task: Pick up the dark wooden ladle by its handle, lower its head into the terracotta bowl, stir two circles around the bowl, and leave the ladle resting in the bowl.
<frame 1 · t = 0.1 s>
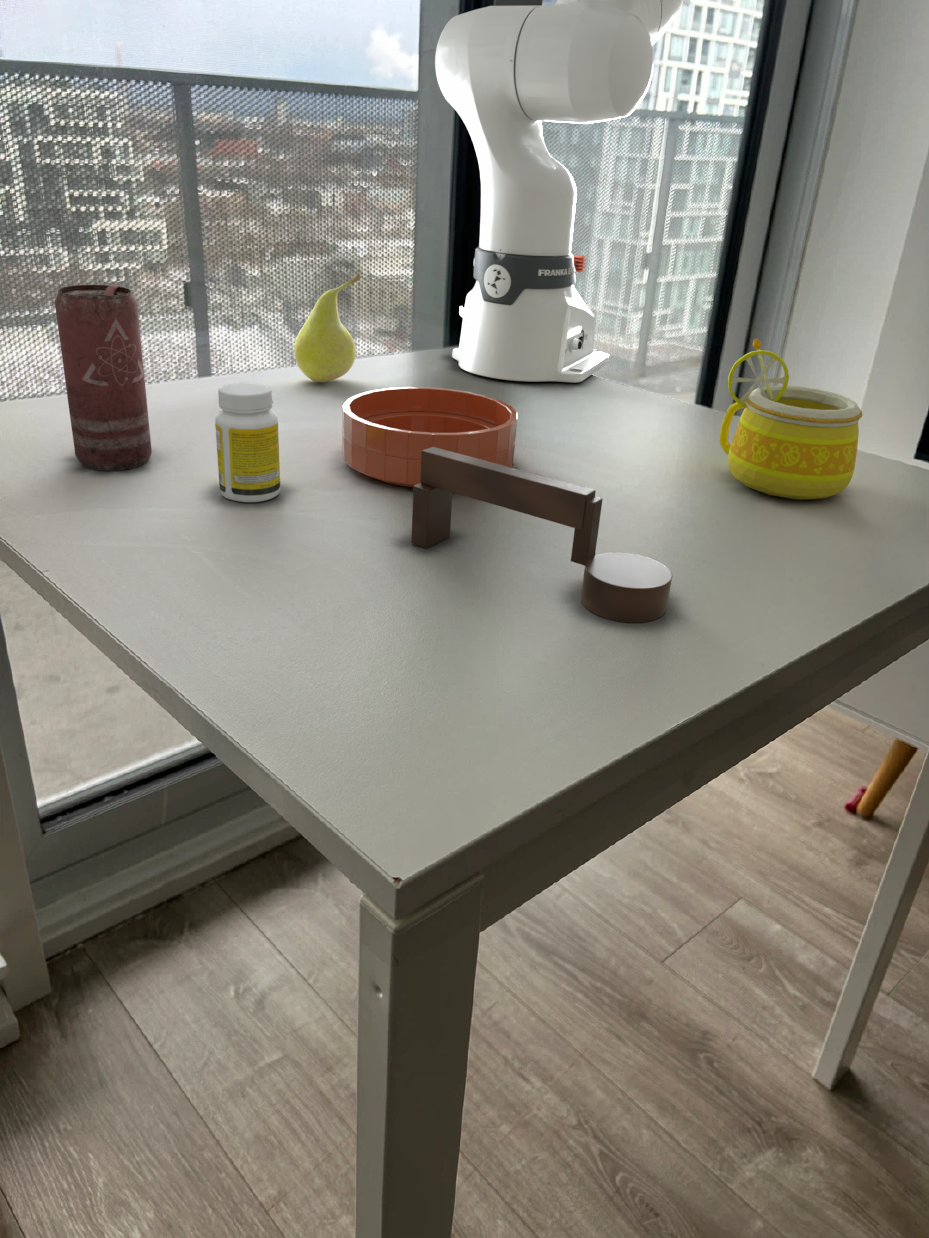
supplement bottle: (250, 495, 75), on the table
bowl: (428, 463, 84), on the table
mug: (774, 484, 86), on the table
fruit: (327, 382, 109), on the table
ladle: (623, 602, 62), on the table
can: (115, 462, 80), on the table
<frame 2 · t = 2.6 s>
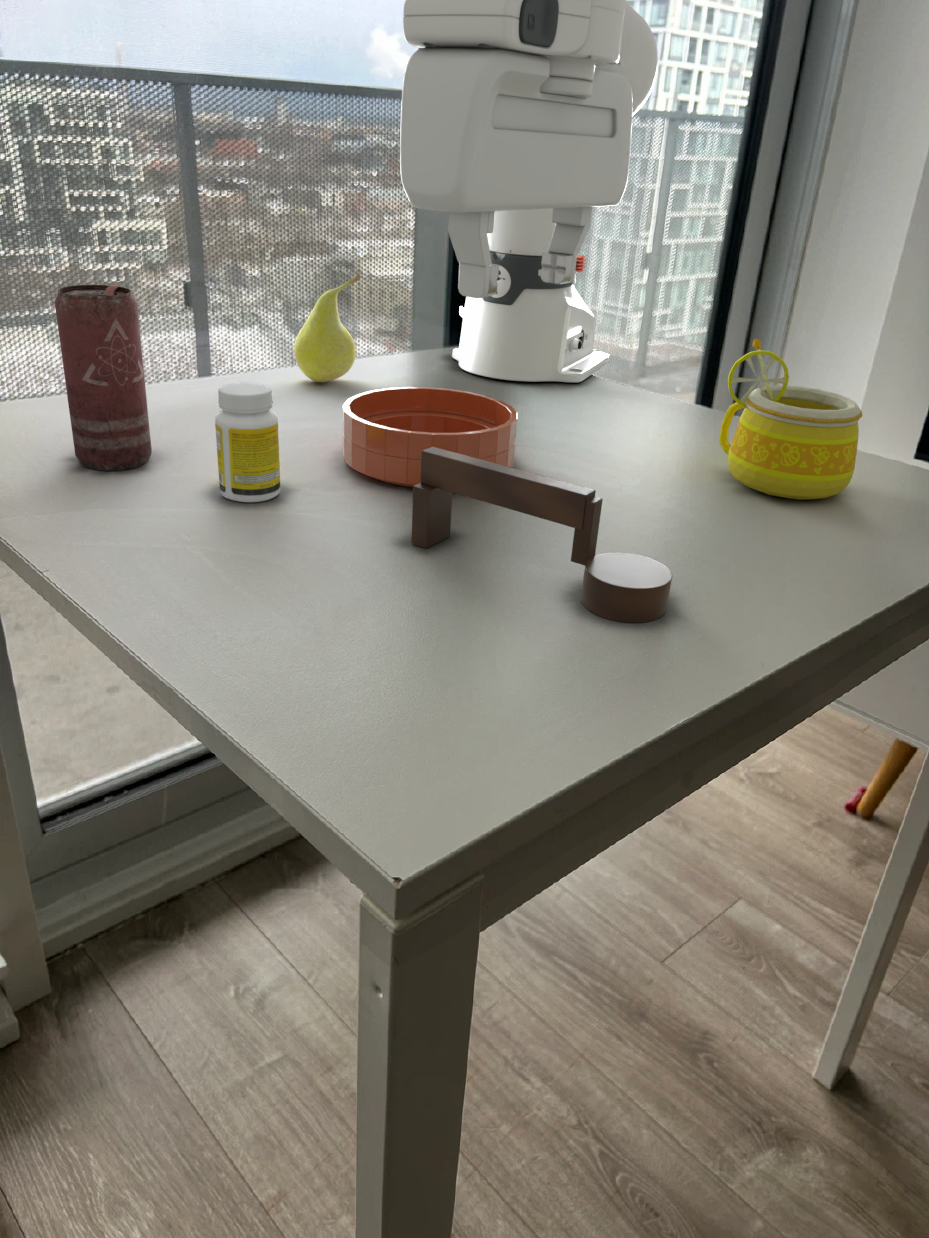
hand: (519, 289, 58), 18 cm above the table, tool pointing down, fingers open, 8 cm apart
nothing on the table moved.
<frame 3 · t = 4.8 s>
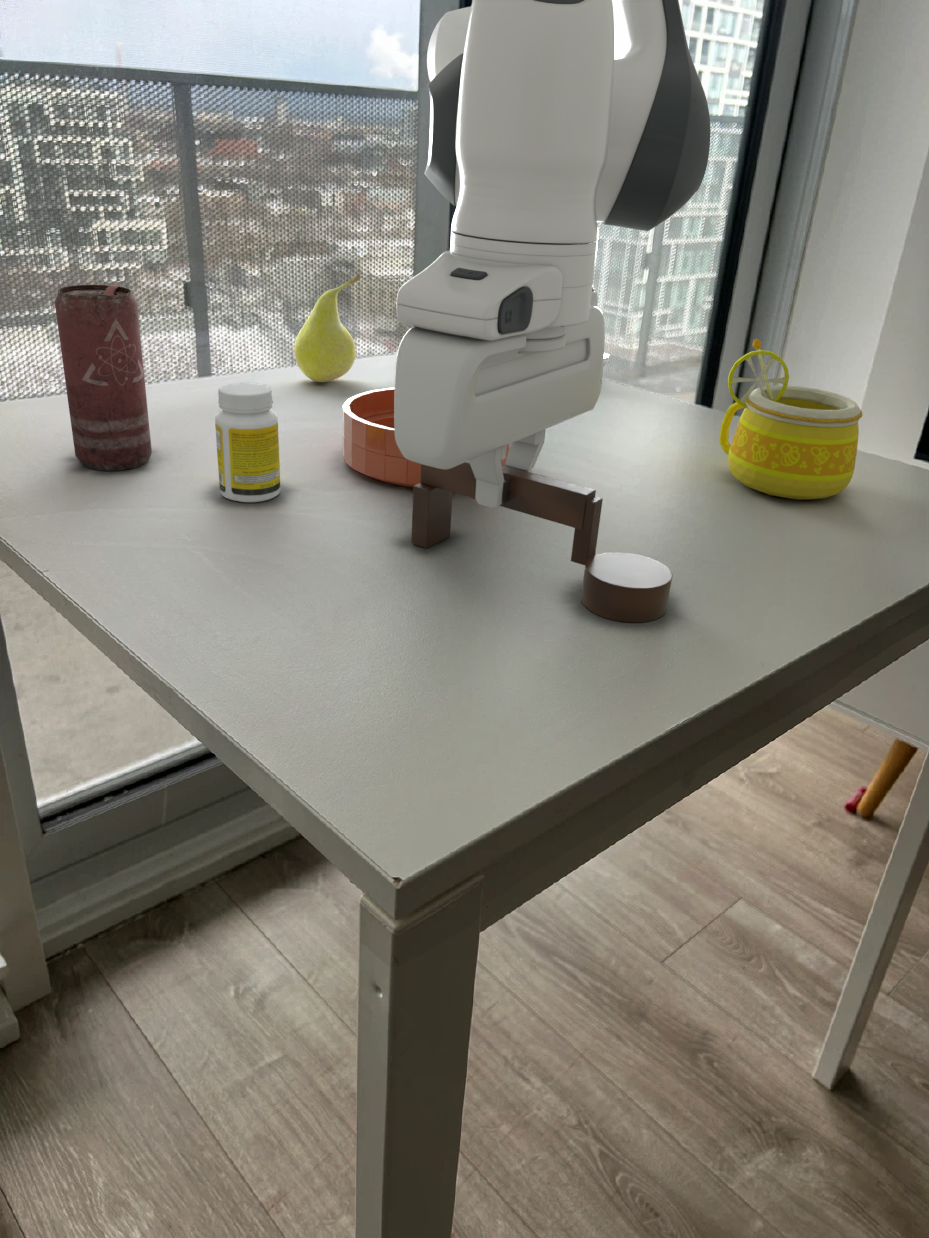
hand: (502, 498, 64), 5 cm above the table, tool pointing down, fingers closed on ladle
ladle: (623, 602, 62), on the table, touching gripper
everything else where it was.
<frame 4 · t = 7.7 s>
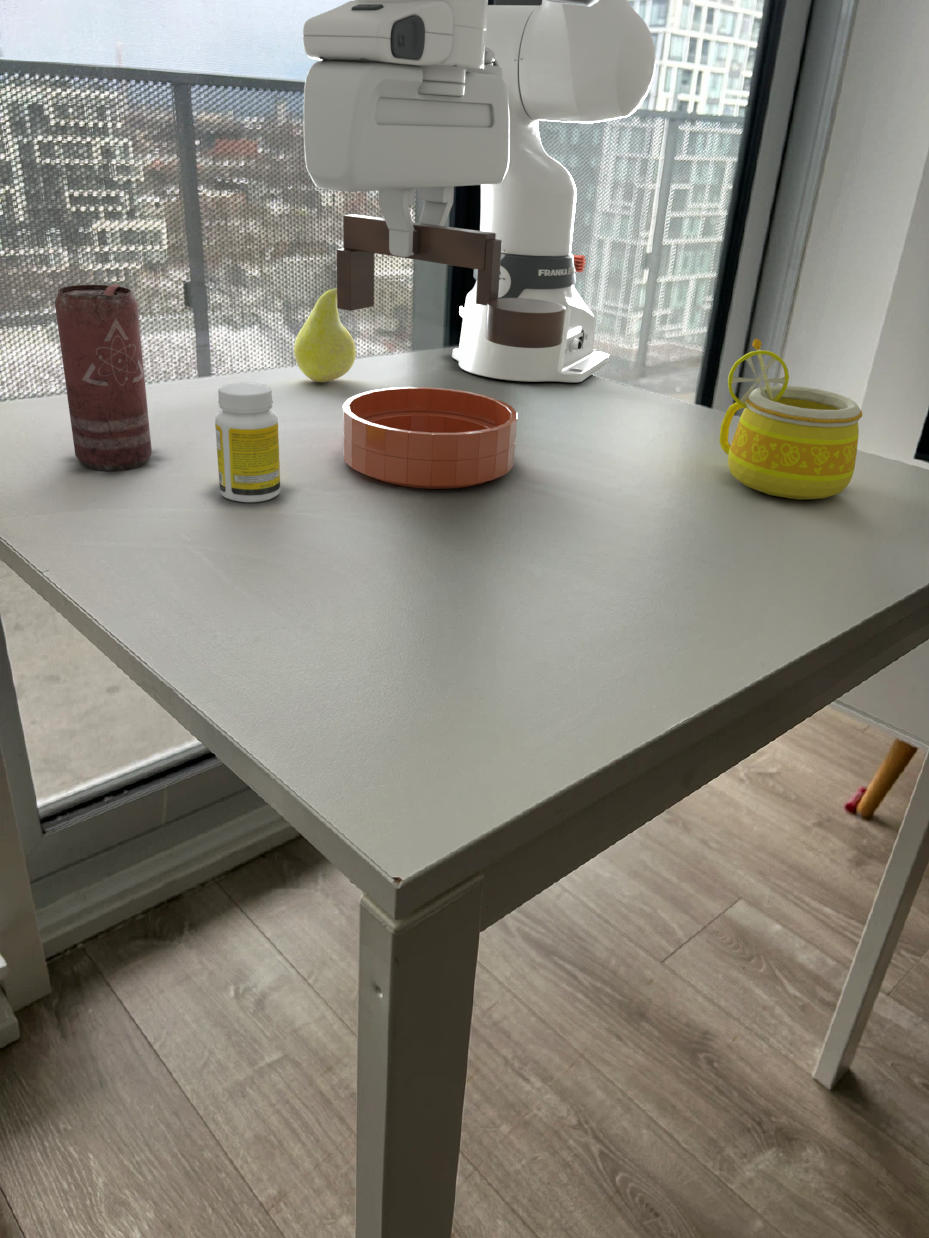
hand: (415, 254, 70), 18 cm above the table, tool pointing down, fingers closed on ladle
ladle: (523, 339, 68), point 14 cm above the table, touching gripper
everything else where it was.
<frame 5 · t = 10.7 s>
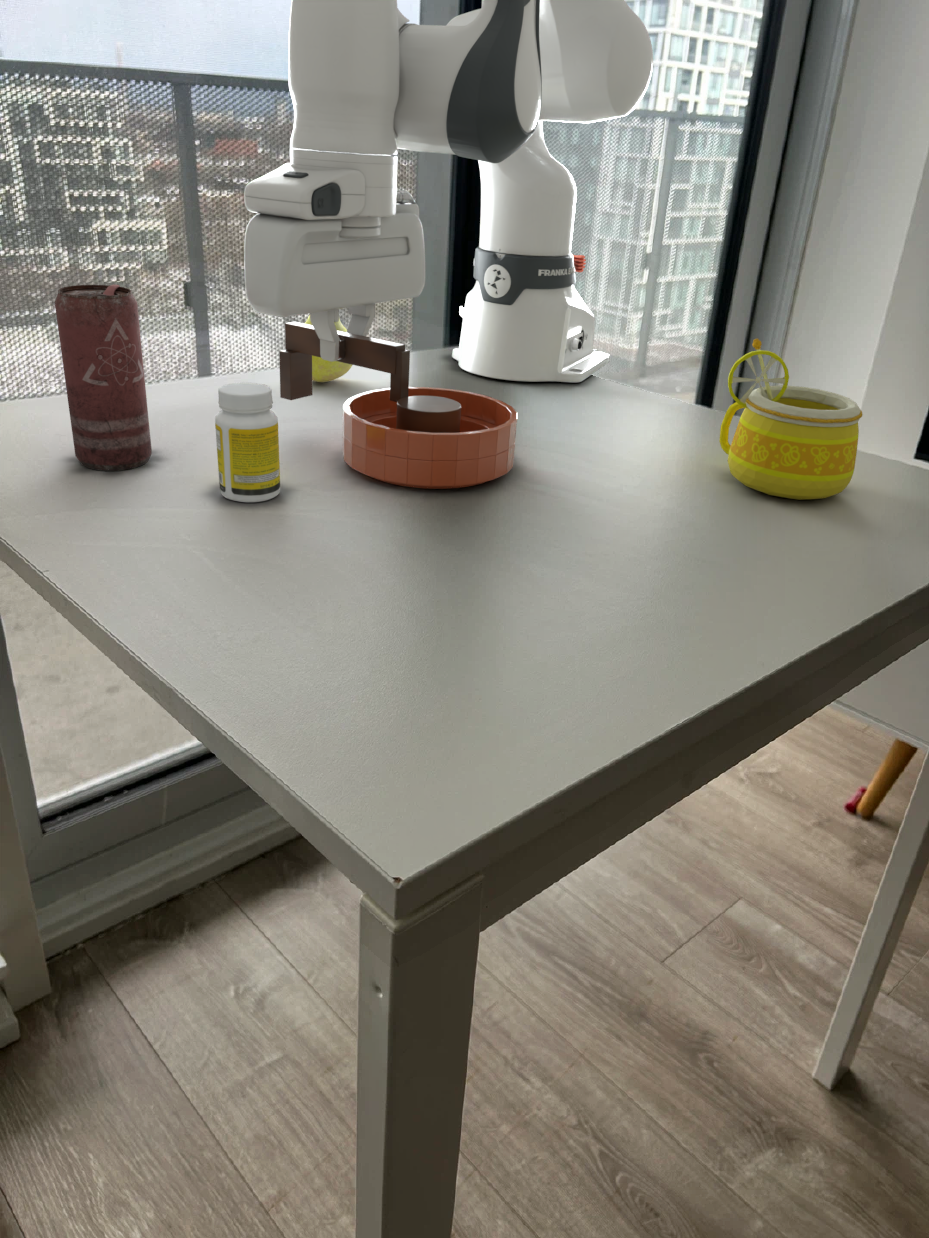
hand: (343, 357, 85), 8 cm above the table, tool pointing down, fingers closed on ladle
ladle: (427, 430, 83), point 3 cm above the table, touching gripper
everything else where it was.
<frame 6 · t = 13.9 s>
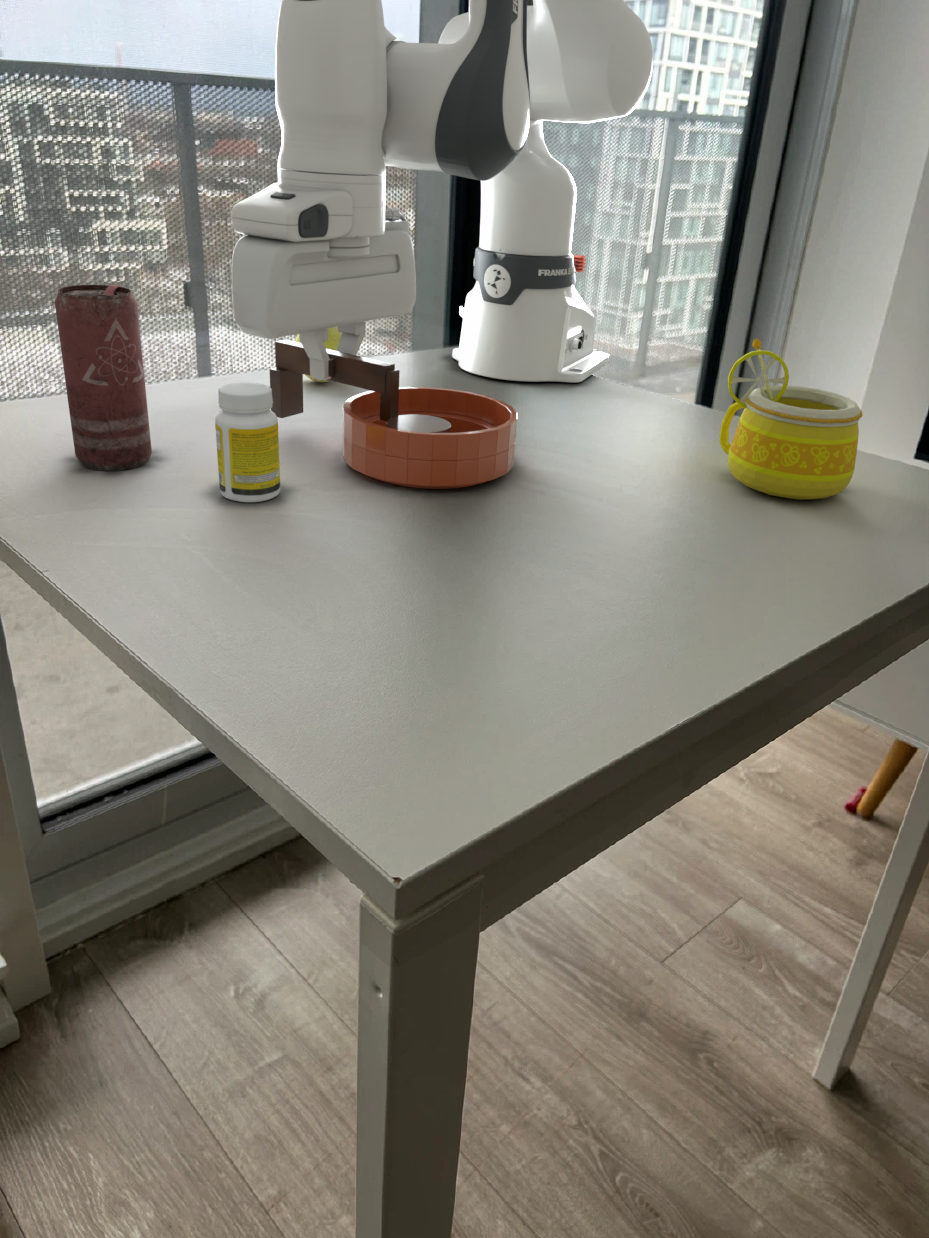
hand: (333, 376, 85), 6 cm above the table, tool pointing down, fingers closed on ladle
ladle: (417, 450, 83), point 2 cm above the table, touching gripper
everything else where it was.
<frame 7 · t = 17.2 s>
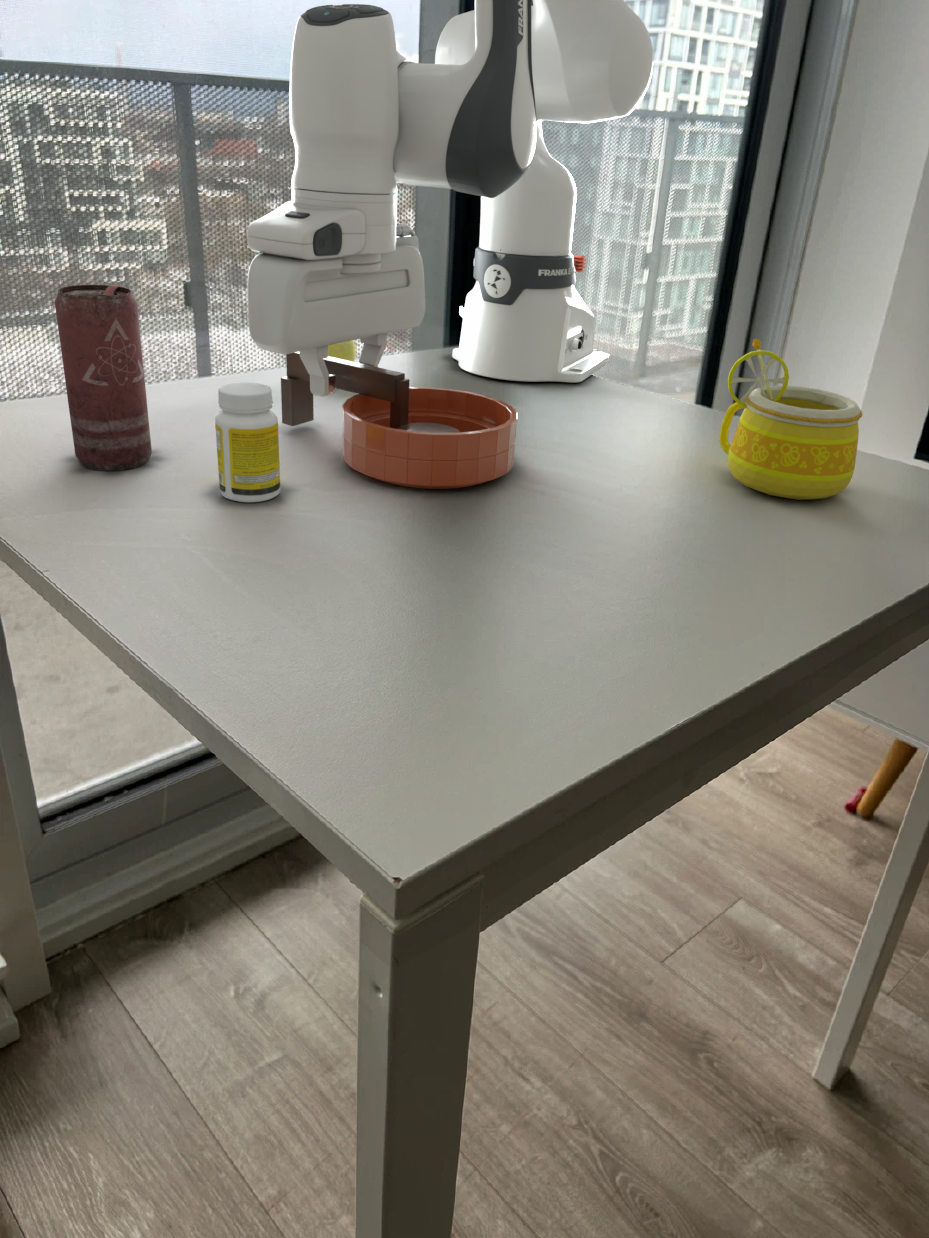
hand: (344, 388, 87), 5 cm above the table, tool pointing down, fingers open, 5 cm apart
ladle: (427, 457, 84), point 1 cm above the table, touching bowl
everything else where it was.
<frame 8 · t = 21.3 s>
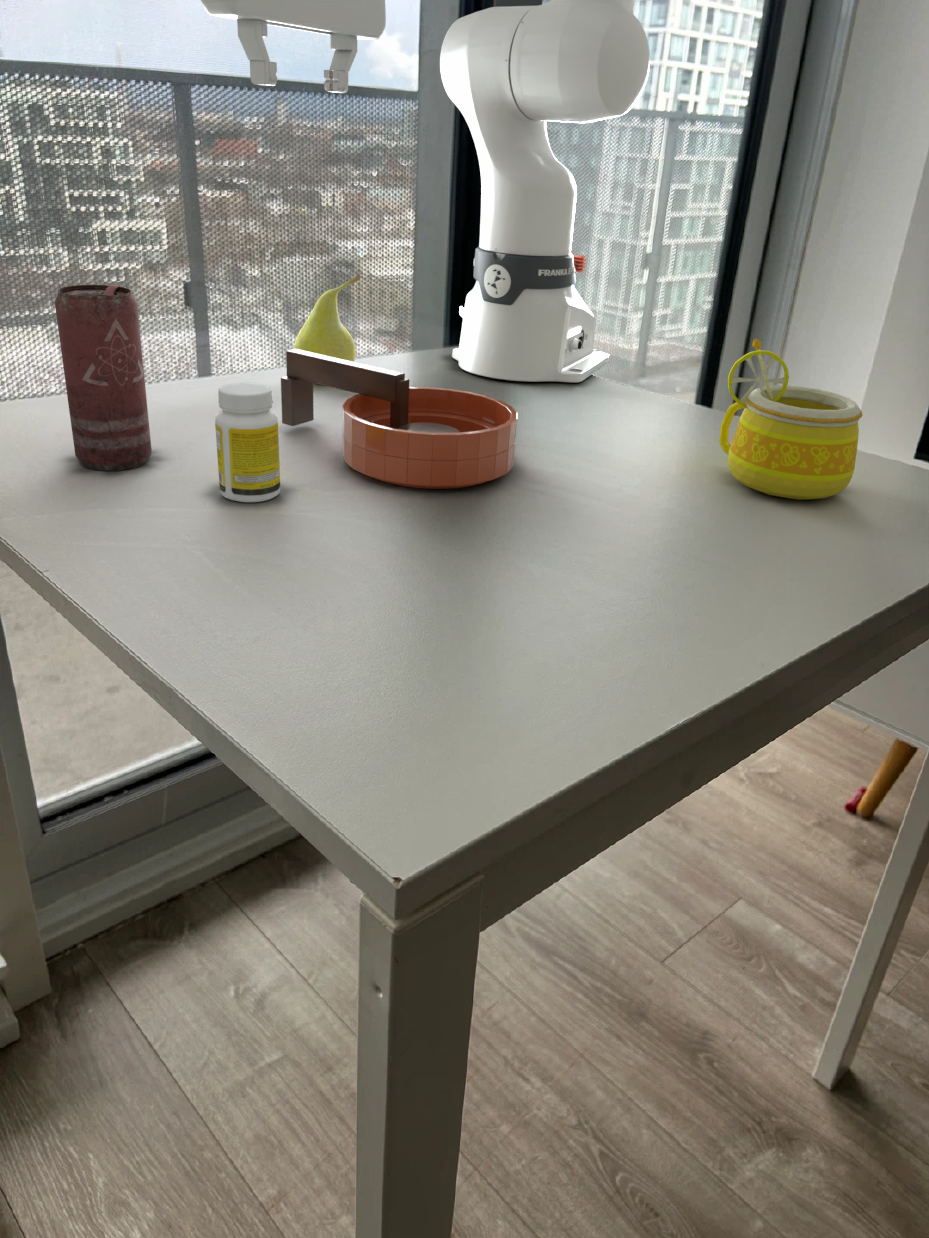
hand: (301, 89, 85), 29 cm above the table, tool pointing down, fingers open, 8 cm apart
nothing on the table moved.
at the end: ladle inside the target area in the bowl (0.1 cm from its centre), point 0.6 cm above the bowl's base; the gripper is holding nothing; ladle moved 29.5 cm from its start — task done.
